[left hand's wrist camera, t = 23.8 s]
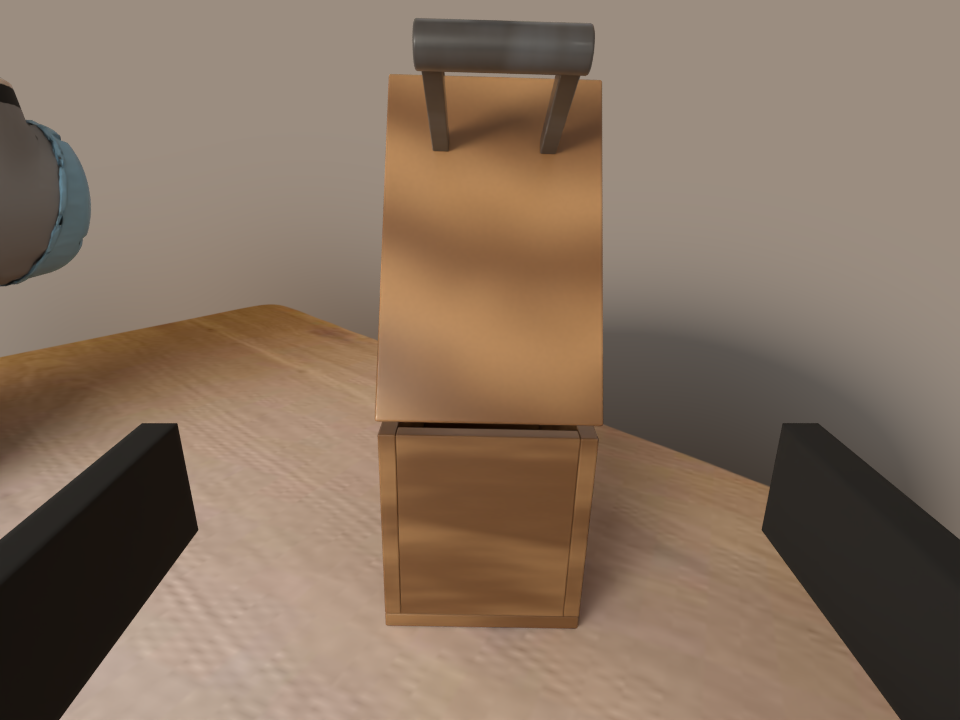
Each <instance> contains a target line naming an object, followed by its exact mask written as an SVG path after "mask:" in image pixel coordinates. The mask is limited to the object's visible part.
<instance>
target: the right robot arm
mask: <svg viewBox="0 0 960 720" xmlns="http://www.w3.org/2000/svg"><path fill="white" fill-rule="evenodd" d="M90 216H91V201H90V193H89V187H88V182H87V179H86V176H85V173H84V170H83V167H82V165H81V163H80V161H79V159H78V157H77V156H76V154H75V152H74V151H73V149H72V148H71V147H70V145H69V144H68V143H66V142H63V141H61V138H60V135H58V134H57V133H56V132H55V131H54V130H52V129H50V128H48V127H46V126H44V125H41V124H38V123H36V122H34V121H32V120H25V118H24V115H23V113H22V110H21V108H20V105H19V102H18V100H17V97H16V95H15V92H14V90H13V87H12V85H11V84H10V83H8V82H7V81H5V80H4V79H2V78H0V286H8V285H11V284H19V283H21V282H23V281H25V280H27V279H28V278H32V277H36V276H39V275H43V274H47V273H50V272H53V271H55V270H58V269H60V268H62V267H63V266H65V265H66V264H68V263H69V262H70V261H71V260H72V259H73V258H74V257H75V256H76V255H77V253H78V252H79V250H80V248H81V246H82V241H83V238H84V237H85V236H86V235H87V232H88V229H89V224H90Z"/></svg>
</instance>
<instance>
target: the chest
mask: <svg viewBox="0 0 960 720" xmlns="http://www.w3.org/2000/svg"><path fill="white" fill-rule="evenodd" d="M598 441H599V440H598V437H597V434H596V432H595V429H594V427H593V426H573V425H524V424H475V423H427V422H382V424H381V427H380V430H379V433H378V455H379V478H380V501H381V524H382V548H383V571H384V594H385V612H386V613H385V617H386V625H394V626H457V627H520V628H577V627H578V619H579V610H580V602H581V593H582V584H583V575H584V566H585V557H586V548H587V539H588V530H589V521H590V512H591V503H592V494H593V485H594V477H595V468H596V459H597V450H598Z"/></svg>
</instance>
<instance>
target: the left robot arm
mask: <svg viewBox="0 0 960 720" xmlns="http://www.w3.org/2000/svg"><path fill="white" fill-rule="evenodd" d="M197 531H198V526H197V521H196V516H195V511H194V506H193V501H192V495H191V490H190V485H189V480H188V475H187V470H186V465H185V460H184V455H183V450H182V445H181V440H180V435H179V430H178V424H177V423H142V424H141V425H139V426H138V427H137V428H136V429H134V430H133V431H132V432H131V433H130V434H128V435H127V436H126V437H125V438H124V439H122V440H121V441H120V442H119V443H117V444H116V445H115V446H114V447H113V448H111V449H110V450H109V451H108V452H106V453H105V454H104V455H103V456H102V457H100V458H99V459H98V460H97V461H95V462H94V463H93V464H92V465H91V466H89V467H88V468H87V469H86V470H85V471H83V472H82V473H81V474H80V475H78V476H77V477H76V478H75V479H74V480H72V481H71V482H70V483H69V484H67V485H66V486H65V487H64V488H63V489H61V490H60V491H59V492H58V493H56V494H55V495H54V496H53V497H52V498H50V499H49V500H48V501H47V502H46V503H44V504H43V505H42V506H41V507H39V508H38V509H37V510H36V511H35V512H33V513H32V514H31V515H30V516H28V517H27V518H26V519H25V520H24V521H22V522H21V523H20V524H19V525H17V526H16V527H15V528H14V529H13V530H11V531H10V532H9V533H8V534H7V535H5V536H4V537H3V538H2V539H0V720H59V719H60V718H61V717H62V715H63V714H64V713H65V711H66V710H67V709H68V707H69V706H70V704H71V703H72V702H73V700H74V699H75V698H76V696H77V695H78V694H79V692H80V691H81V689H82V688H83V687H84V685H85V684H86V683H87V681H88V680H89V679H90V677H91V676H92V674H93V673H94V672H95V670H96V669H97V668H98V666H99V665H100V664H101V662H102V661H103V659H104V658H105V657H106V655H107V654H108V653H109V651H110V650H111V649H112V647H113V646H114V644H115V643H116V642H117V640H118V639H119V638H120V636H121V635H122V634H123V632H124V631H125V629H126V628H127V627H128V625H129V624H130V623H131V621H132V620H133V619H134V617H135V616H136V614H137V613H138V612H139V610H140V609H141V608H142V606H143V605H144V604H145V602H146V601H147V599H148V598H149V597H150V595H151V594H152V593H153V591H154V590H155V589H156V587H157V586H158V584H159V583H160V582H161V580H162V579H163V578H164V576H165V575H166V574H167V572H168V571H169V569H170V568H171V567H172V565H173V564H174V563H175V561H176V560H177V559H178V557H179V556H180V554H181V553H182V552H183V550H184V549H185V548H186V546H187V545H188V544H189V542H190V541H191V539H192V538H193V537H194V535H195V534H196V533H197ZM762 531H763V533H764V534H765V535H766V537H767V538H768V539H769V541H770V542H771V544H772V545H773V546H774V548H775V549H776V550H777V552H778V553H779V554H780V556H781V557H782V559H783V560H784V561H785V563H786V564H787V565H788V567H789V568H790V569H791V571H792V572H793V574H794V575H795V576H796V578H797V579H798V580H799V582H800V583H801V584H802V586H803V587H804V589H805V590H806V591H807V593H808V594H809V595H810V597H811V598H812V599H813V601H814V602H815V604H816V605H817V606H818V608H819V609H820V610H821V612H822V613H823V614H824V616H825V617H826V619H827V620H828V621H829V623H830V624H831V625H832V627H833V628H834V629H835V631H836V632H837V634H838V635H839V636H840V638H841V639H842V640H843V642H844V643H845V644H846V646H847V647H848V649H849V650H850V651H851V653H852V654H853V655H854V657H855V658H856V659H857V661H858V662H859V664H860V665H861V666H862V668H863V669H864V670H865V672H866V673H867V674H868V676H869V677H870V679H871V680H872V681H873V683H874V684H875V685H876V687H877V688H878V689H879V691H880V692H881V694H882V695H883V696H884V698H885V699H886V700H887V702H888V703H889V704H890V706H891V707H892V709H893V710H894V711H895V713H896V714H897V715H898V717H899V718H900V719H901V720H960V539H958V538H957V537H956V536H955V535H953V534H952V533H951V532H950V531H949V530H947V529H946V528H945V527H944V526H942V525H941V524H940V523H939V522H938V521H936V520H935V519H934V518H933V517H931V516H930V515H929V514H928V513H927V512H925V511H924V510H923V509H922V508H921V507H919V506H918V505H917V504H916V503H914V502H913V501H912V500H911V499H910V498H908V497H907V496H906V495H905V494H904V493H902V492H901V491H900V490H899V489H897V488H896V487H895V486H894V485H892V484H891V483H890V482H889V481H888V480H886V479H885V478H884V477H883V476H882V475H880V474H879V473H878V472H877V471H875V470H874V469H873V468H872V467H871V466H869V465H868V464H867V463H866V462H865V461H863V460H862V459H861V458H860V457H858V456H857V455H856V454H855V453H854V452H852V451H851V450H850V449H849V448H847V447H846V446H845V445H844V444H843V443H841V442H840V441H839V440H838V439H836V438H835V437H834V436H833V435H832V434H830V433H829V432H828V431H827V430H825V429H824V428H823V427H822V426H821V425H819V424H818V423H783V425H782V430H781V435H780V440H779V445H778V450H777V455H776V460H775V465H774V470H773V475H772V480H771V485H770V490H769V495H768V501H767V506H766V511H765V516H764V521H763V526H762Z"/></svg>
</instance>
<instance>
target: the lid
mask: <svg viewBox="0 0 960 720" xmlns="http://www.w3.org/2000/svg"><path fill="white" fill-rule="evenodd" d="M594 43H595V31H594V26H593V24H591V23H565V22H531V21H497V20H464V19H430V18H416V19H414V22H413V60H414V67H415V69H416V70H417V71H422V75H402V74H390V75H389V84H388V109H387V133H386V158H385V183H384V207H383V232H382V257H381V281H380V307H379V331H378V356H377V380H376V405H375V421H380V422H427V423H475V424H524V425H573V426H602V425H603V246H602V81H601V80H579V78H580V76H586V75H588V74H589V72H590V69H591V65H592V61H593V54H594ZM444 72H472V73H507V74H542V75H556V76H555V79H542V78H508V77H473V76H445V74H444Z"/></svg>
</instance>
